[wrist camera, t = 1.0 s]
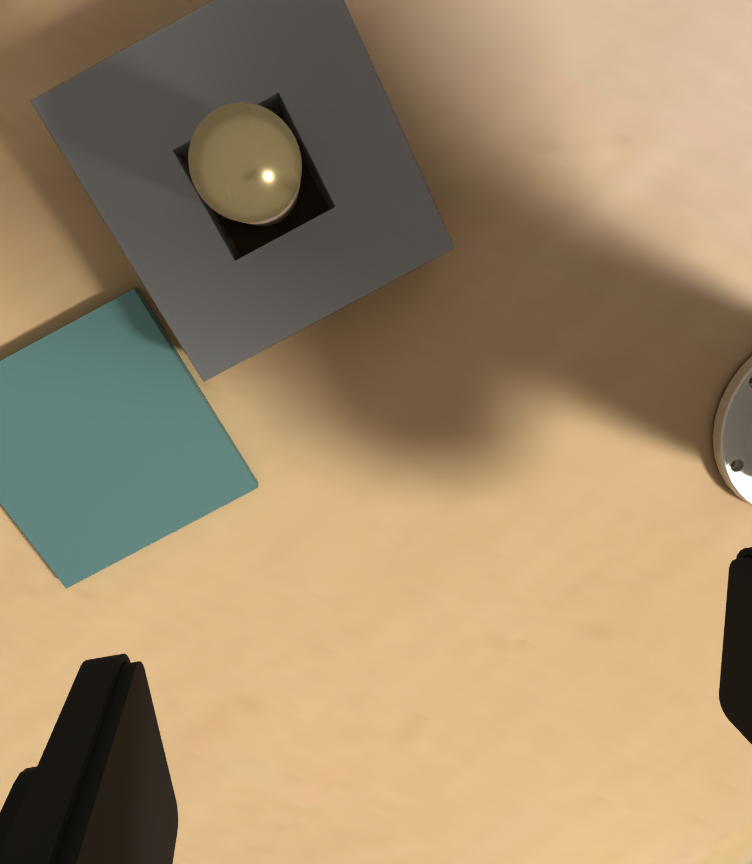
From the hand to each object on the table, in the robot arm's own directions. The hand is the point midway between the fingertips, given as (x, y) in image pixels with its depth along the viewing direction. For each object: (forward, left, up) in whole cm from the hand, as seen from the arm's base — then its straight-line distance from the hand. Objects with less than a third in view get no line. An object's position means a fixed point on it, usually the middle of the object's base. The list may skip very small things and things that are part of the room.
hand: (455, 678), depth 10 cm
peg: (-1, -10, -29) cm, 31 cm away
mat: (+14, -2, -29) cm, 33 cm away
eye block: (-1, -10, -29) cm, 31 cm away
